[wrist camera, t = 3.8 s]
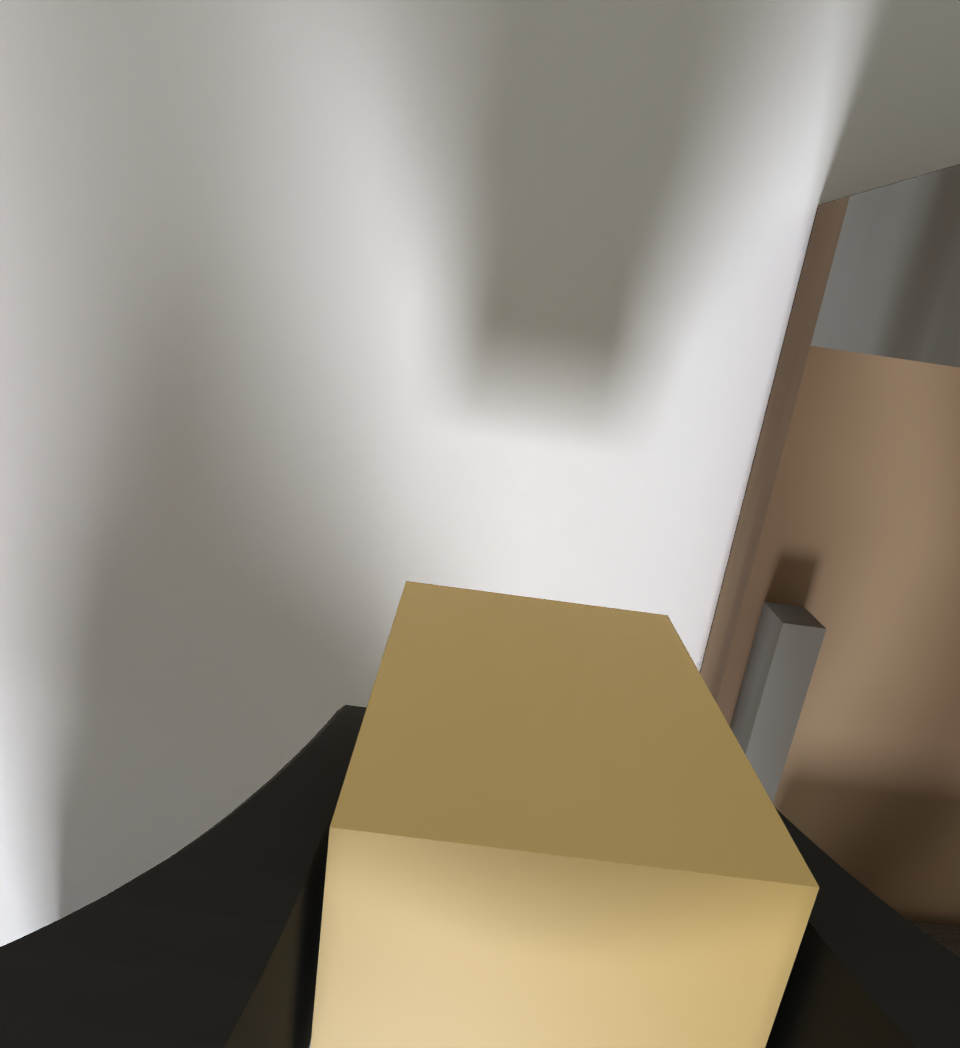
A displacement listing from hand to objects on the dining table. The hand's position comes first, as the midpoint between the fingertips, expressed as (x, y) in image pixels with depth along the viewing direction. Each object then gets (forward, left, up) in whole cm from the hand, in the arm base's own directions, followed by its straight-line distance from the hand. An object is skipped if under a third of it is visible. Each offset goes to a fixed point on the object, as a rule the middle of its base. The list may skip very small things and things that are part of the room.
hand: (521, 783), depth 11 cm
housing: (0, 0, -2) cm, 2 cm away
